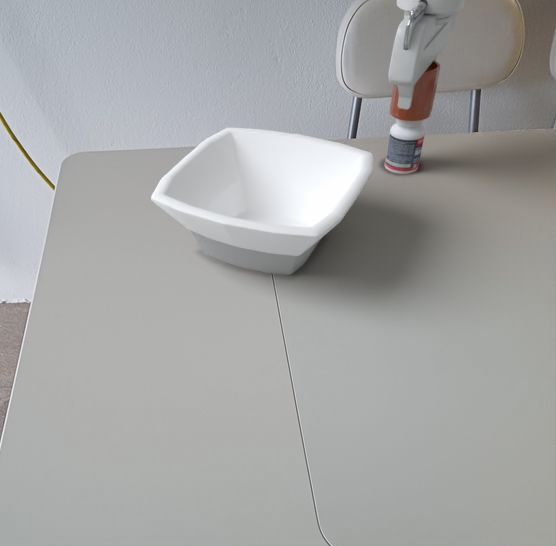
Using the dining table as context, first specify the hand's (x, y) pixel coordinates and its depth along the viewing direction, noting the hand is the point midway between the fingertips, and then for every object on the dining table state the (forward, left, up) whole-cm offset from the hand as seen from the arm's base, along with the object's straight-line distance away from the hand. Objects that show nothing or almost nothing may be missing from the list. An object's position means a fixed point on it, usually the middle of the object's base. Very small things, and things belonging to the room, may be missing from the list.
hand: (413, 95), depth 95 cm
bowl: (+30, +5, -12) cm, 33 cm away
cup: (0, 0, -3) cm, 3 cm away
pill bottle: (0, 0, -12) cm, 12 cm away
